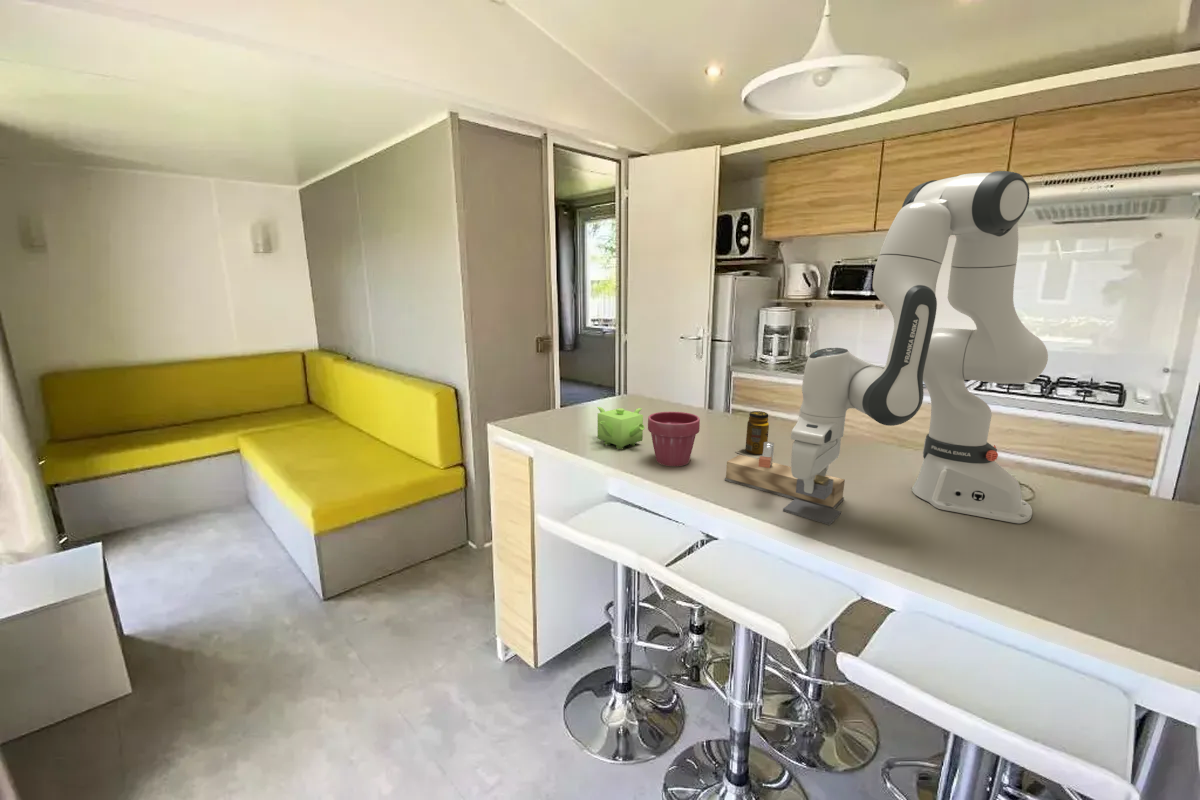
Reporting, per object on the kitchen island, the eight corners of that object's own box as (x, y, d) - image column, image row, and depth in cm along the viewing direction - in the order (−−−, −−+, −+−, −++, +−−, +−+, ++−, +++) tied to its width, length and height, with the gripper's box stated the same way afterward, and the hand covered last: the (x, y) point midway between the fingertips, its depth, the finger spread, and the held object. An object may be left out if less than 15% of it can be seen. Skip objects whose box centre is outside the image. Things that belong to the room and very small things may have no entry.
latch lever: (768, 484, 115) (770, 460, 114) (757, 483, 116) (759, 458, 115) (772, 464, 127) (774, 442, 126) (762, 463, 128) (764, 441, 127)
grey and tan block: (832, 492, 112) (833, 477, 111) (824, 499, 108) (826, 484, 107) (803, 485, 115) (805, 470, 115) (795, 492, 112) (797, 477, 111)
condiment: (772, 452, 152) (775, 413, 150) (757, 459, 147) (760, 418, 144) (750, 446, 158) (753, 408, 155) (735, 453, 152) (737, 413, 149)
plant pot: (655, 450, 154) (656, 408, 151) (702, 456, 149) (704, 413, 146) (640, 466, 141) (641, 420, 138) (691, 473, 136) (693, 426, 133)
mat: (840, 513, 113) (840, 511, 112) (830, 525, 107) (830, 522, 107) (794, 501, 119) (795, 498, 119) (782, 511, 114) (783, 508, 114)
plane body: (843, 499, 120) (846, 479, 119) (833, 510, 114) (835, 489, 113) (738, 472, 137) (739, 454, 135) (724, 480, 131) (725, 461, 130)
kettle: (597, 436, 167) (597, 402, 165) (641, 437, 167) (641, 403, 165) (596, 451, 153) (596, 414, 150) (644, 452, 153) (645, 415, 150)
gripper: (821, 414, 118) (815, 471, 121) (787, 433, 103) (781, 497, 106) (851, 418, 114) (844, 477, 117) (820, 439, 99) (813, 506, 102)
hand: (814, 487), depth 111 cm, fingers closed on grey and tan block, 5 cm apart
